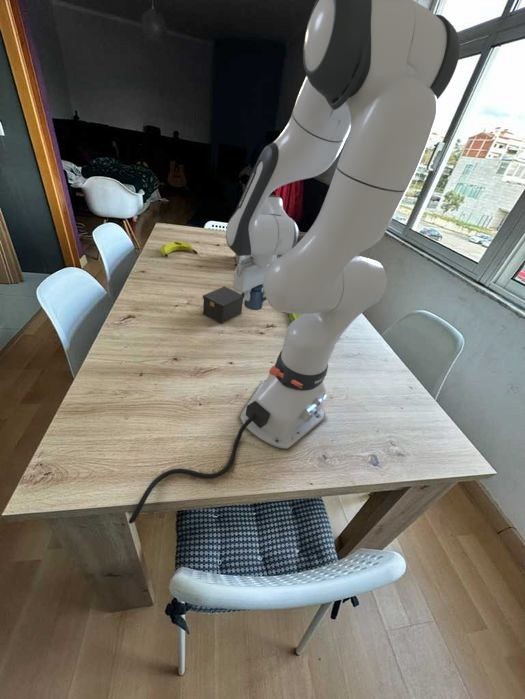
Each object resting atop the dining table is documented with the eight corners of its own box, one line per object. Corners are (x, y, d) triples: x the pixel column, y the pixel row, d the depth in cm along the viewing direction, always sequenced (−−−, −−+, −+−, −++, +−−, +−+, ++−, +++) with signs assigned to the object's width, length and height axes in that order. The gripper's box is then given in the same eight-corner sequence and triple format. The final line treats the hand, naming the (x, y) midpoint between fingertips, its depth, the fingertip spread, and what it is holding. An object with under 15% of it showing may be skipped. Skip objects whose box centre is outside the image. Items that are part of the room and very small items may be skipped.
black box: (221, 324, 101) (222, 306, 97) (201, 314, 105) (201, 295, 101) (242, 313, 110) (244, 295, 105) (223, 303, 113) (224, 286, 109)
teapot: (235, 303, 97) (237, 280, 92) (246, 297, 101) (249, 276, 97) (262, 315, 93) (265, 292, 88) (272, 309, 97) (276, 287, 92)
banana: (155, 246, 138) (184, 259, 137) (174, 235, 151) (200, 246, 150) (155, 255, 141) (183, 267, 141) (173, 243, 154) (199, 254, 153)
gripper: (247, 265, 78) (242, 310, 86) (286, 251, 93) (278, 291, 101) (229, 257, 81) (226, 302, 89) (269, 245, 95) (263, 284, 103)
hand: (254, 296), depth 95 cm, fingers closed on teapot, 6 cm apart
